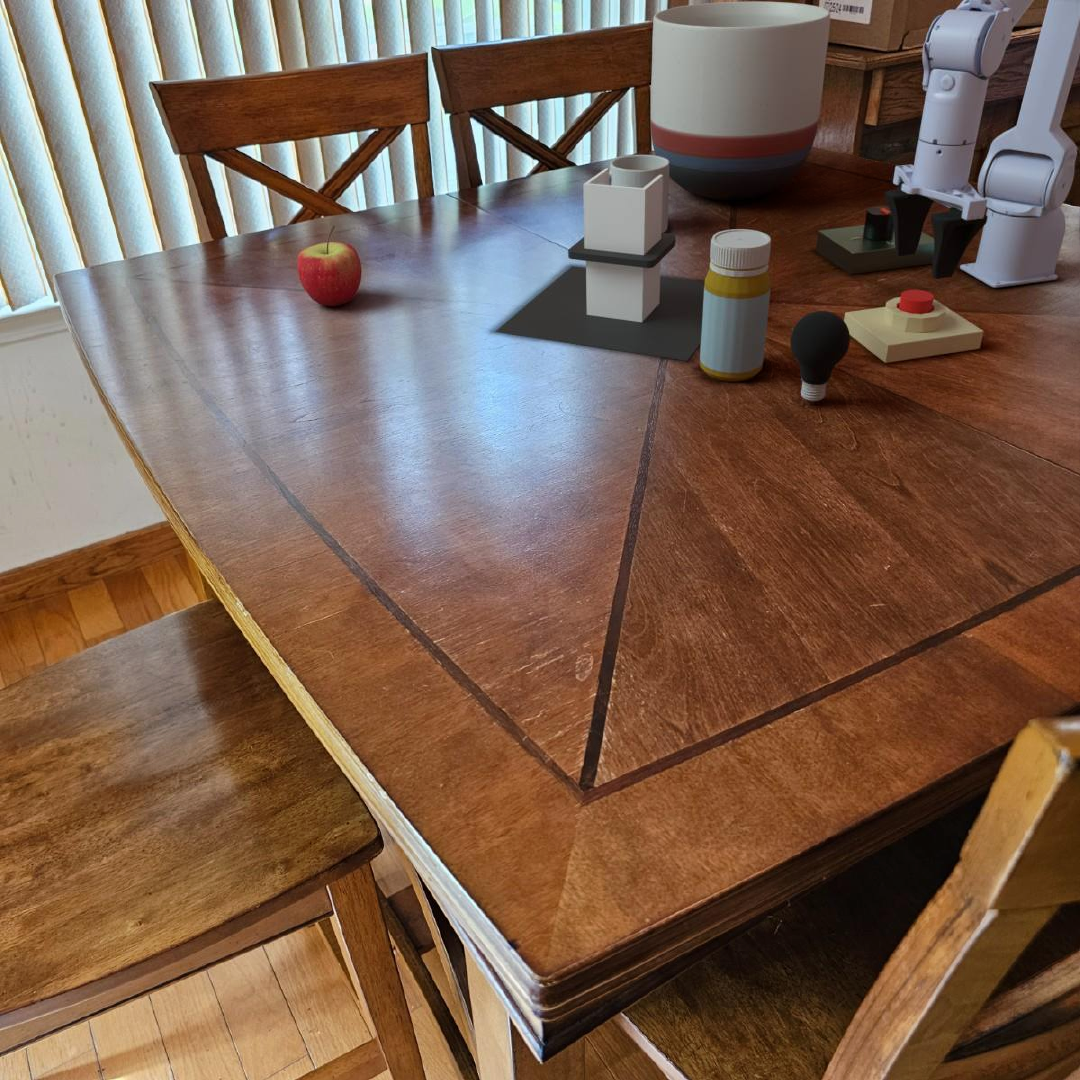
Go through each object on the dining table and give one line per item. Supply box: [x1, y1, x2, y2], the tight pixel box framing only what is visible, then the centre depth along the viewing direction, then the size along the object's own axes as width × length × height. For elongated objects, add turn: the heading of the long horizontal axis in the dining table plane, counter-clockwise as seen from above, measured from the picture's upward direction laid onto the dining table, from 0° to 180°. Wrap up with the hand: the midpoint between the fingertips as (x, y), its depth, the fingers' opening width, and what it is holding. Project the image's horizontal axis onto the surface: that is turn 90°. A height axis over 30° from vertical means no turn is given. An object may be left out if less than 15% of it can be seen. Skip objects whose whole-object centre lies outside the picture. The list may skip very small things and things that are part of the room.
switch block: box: [843, 296, 984, 364], centre depth 115 cm, size 12×10×4 cm
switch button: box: [899, 289, 935, 314], centre depth 114 cm, size 4×4×2 cm
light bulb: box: [789, 310, 851, 404], centre depth 102 cm, size 6×6×10 cm
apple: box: [296, 225, 362, 307], centre depth 130 cm, size 8×8×10 cm
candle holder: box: [495, 167, 705, 362], centre depth 123 cm, size 25×24×16 cm
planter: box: [649, 1, 831, 201], centre depth 159 cm, size 27×27×27 cm
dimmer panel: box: [815, 224, 934, 276], centre depth 138 cm, size 13×10×3 cm
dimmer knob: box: [863, 205, 894, 240], centre depth 136 cm, size 4×4×4 cm
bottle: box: [699, 228, 772, 382], centre depth 107 cm, size 7×7×15 cm
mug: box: [609, 154, 670, 233], centre depth 150 cm, size 11×10×10 cm
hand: (923, 265), depth 111 cm, fingers open, 7 cm apart
